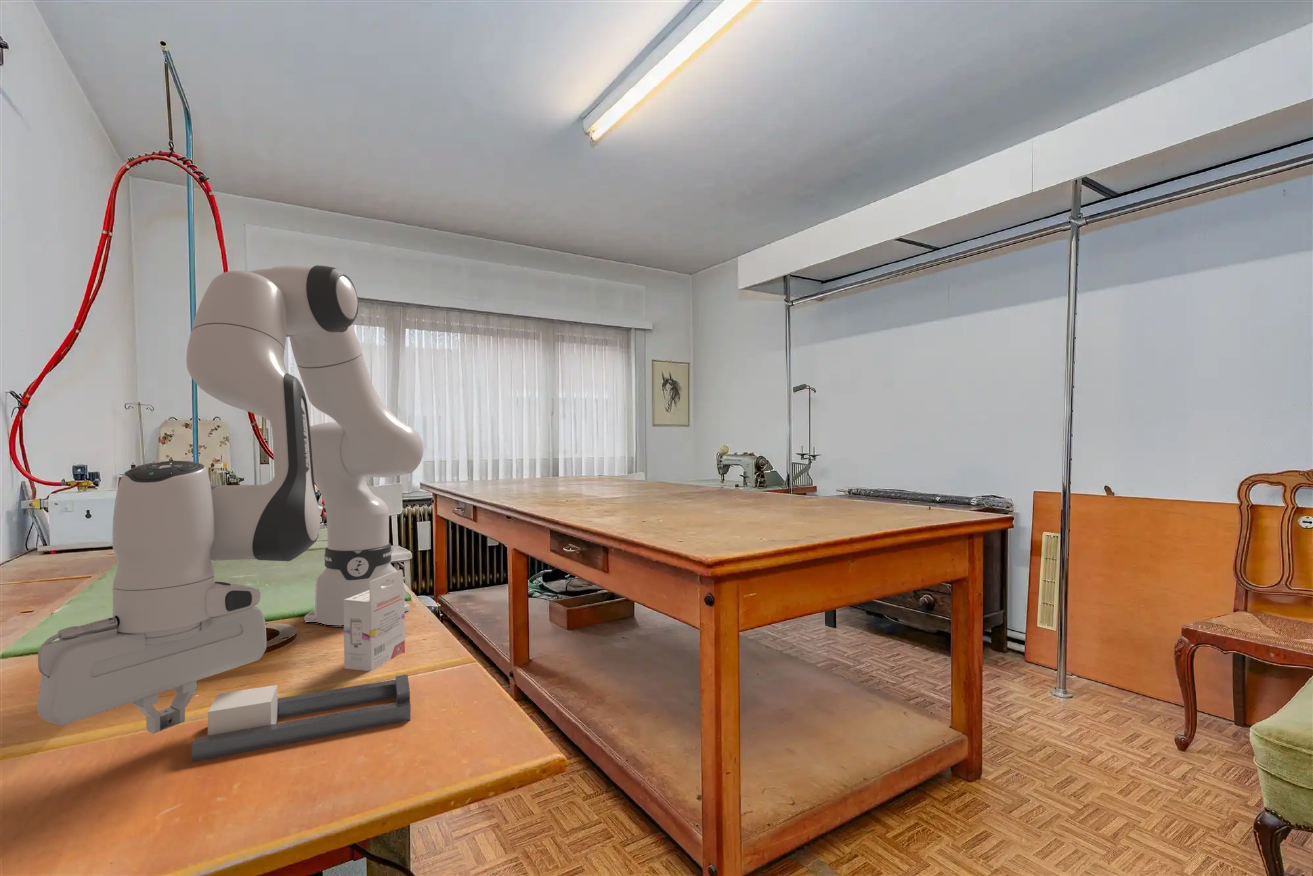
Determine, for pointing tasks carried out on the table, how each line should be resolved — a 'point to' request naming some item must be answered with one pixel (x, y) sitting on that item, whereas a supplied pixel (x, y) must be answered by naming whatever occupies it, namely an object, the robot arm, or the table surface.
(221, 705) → the block
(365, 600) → the ink cartridge box
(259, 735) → the chute
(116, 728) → the table surface
